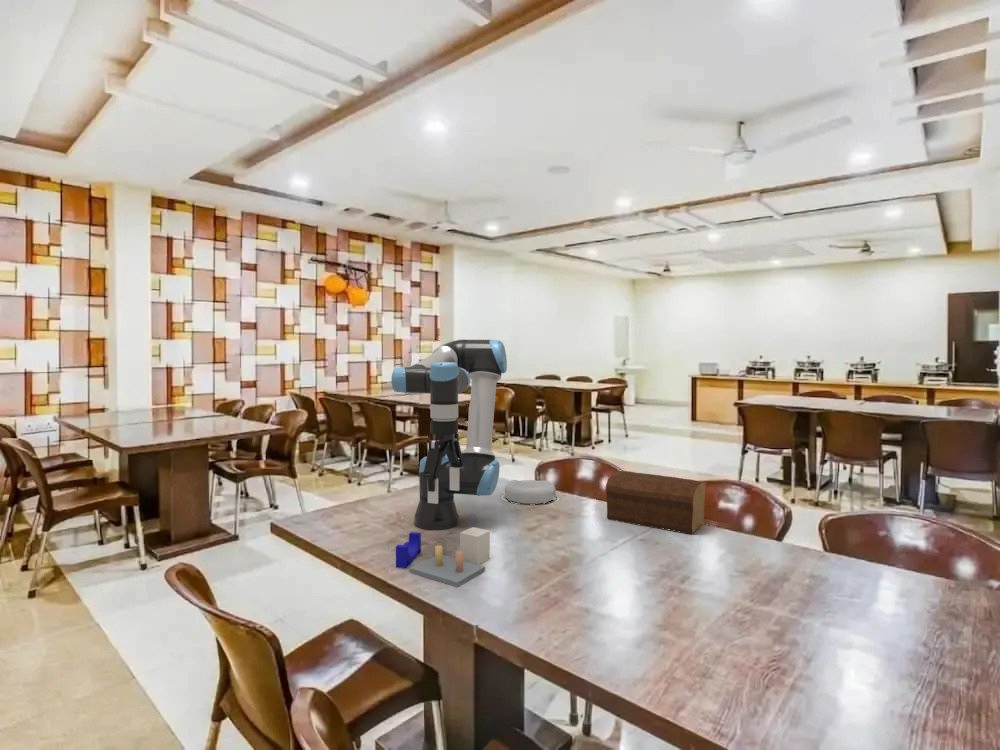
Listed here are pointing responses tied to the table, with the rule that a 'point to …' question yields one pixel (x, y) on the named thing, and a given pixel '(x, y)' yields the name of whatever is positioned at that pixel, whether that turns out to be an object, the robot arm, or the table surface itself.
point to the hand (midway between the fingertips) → (444, 496)
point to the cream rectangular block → (475, 545)
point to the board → (447, 568)
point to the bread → (656, 500)
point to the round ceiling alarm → (530, 491)
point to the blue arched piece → (408, 550)
